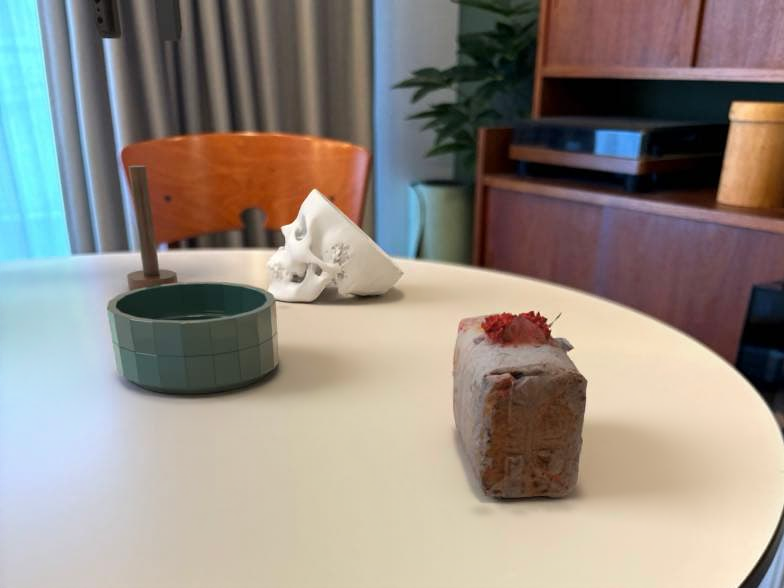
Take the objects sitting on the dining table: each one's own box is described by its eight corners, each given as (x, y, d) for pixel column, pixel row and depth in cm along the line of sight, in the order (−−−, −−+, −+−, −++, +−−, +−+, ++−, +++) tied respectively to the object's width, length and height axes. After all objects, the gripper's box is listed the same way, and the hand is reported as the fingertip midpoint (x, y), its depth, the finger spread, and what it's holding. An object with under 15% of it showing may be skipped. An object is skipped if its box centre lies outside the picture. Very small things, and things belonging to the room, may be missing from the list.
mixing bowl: (184, 411, 63) (174, 333, 60) (87, 372, 70) (74, 301, 67) (311, 369, 72) (308, 299, 69) (213, 338, 79) (206, 274, 76)
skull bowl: (251, 272, 97) (303, 177, 93) (353, 333, 102) (407, 245, 98) (249, 293, 88) (306, 188, 84) (360, 359, 93) (420, 263, 89)
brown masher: (147, 295, 93) (129, 170, 87) (118, 287, 96) (99, 166, 90) (188, 287, 97) (174, 166, 90) (159, 279, 100) (143, 162, 93)
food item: (440, 420, 62) (446, 286, 57) (545, 417, 63) (558, 285, 58) (469, 503, 50) (479, 344, 45) (597, 500, 51) (620, 342, 46)
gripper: (140, -151, 81) (162, 41, 89) (22, -186, 70) (58, 37, 78) (200, -158, 78) (217, 42, 86) (87, -195, 67) (118, 37, 75)
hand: (142, 39), depth 82 cm, fingers open, 8 cm apart
